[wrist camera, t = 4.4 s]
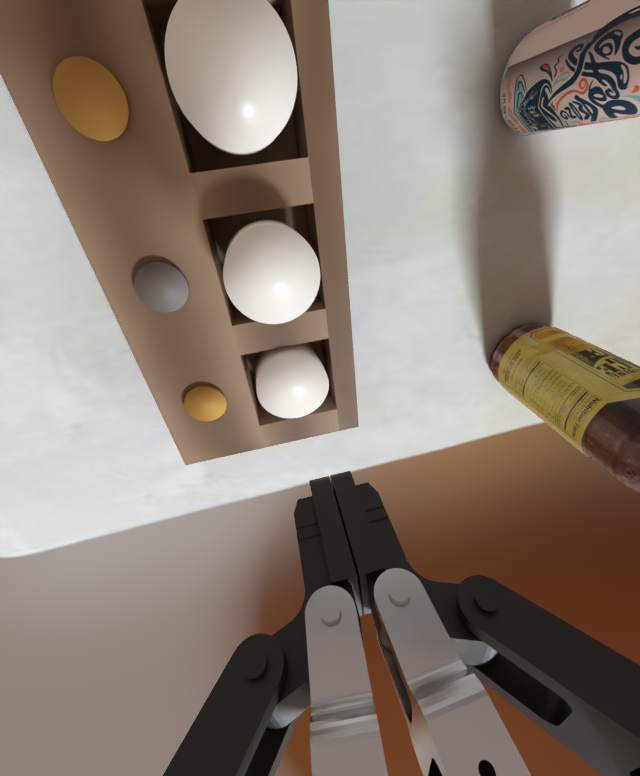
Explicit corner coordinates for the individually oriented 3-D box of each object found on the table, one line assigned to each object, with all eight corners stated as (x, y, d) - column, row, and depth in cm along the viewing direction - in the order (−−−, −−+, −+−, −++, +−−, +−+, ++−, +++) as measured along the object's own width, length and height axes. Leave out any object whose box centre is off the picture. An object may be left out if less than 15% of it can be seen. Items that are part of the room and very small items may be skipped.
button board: (298, -29, 15) (322, -112, 11) (341, 389, 28) (359, 429, 23) (19, -6, 14) (-82, -91, 10) (194, 420, 27) (184, 468, 22)
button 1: (277, 11, 13) (286, -29, 11) (295, 149, 15) (305, 142, 13) (161, 22, 13) (142, -17, 10) (198, 161, 15) (189, 158, 13)
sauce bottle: (565, 335, 30) (977, 534, 13) (516, 391, 32) (811, 620, 15) (518, 305, 27) (960, 504, 10) (469, 368, 29) (763, 613, 13)
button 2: (303, 212, 17) (314, 217, 14) (314, 297, 19) (325, 315, 17) (215, 225, 16) (210, 234, 14) (237, 311, 19) (237, 331, 16)
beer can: (477, 99, 19) (734, 12, 9) (541, 0, 18) (938, -237, 8) (525, 154, 21) (778, 132, 11) (586, 70, 20) (947, -43, 10)
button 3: (315, 330, 22) (324, 349, 19) (322, 386, 24) (332, 410, 22) (248, 342, 21) (248, 364, 19) (262, 399, 24) (265, 424, 21)
